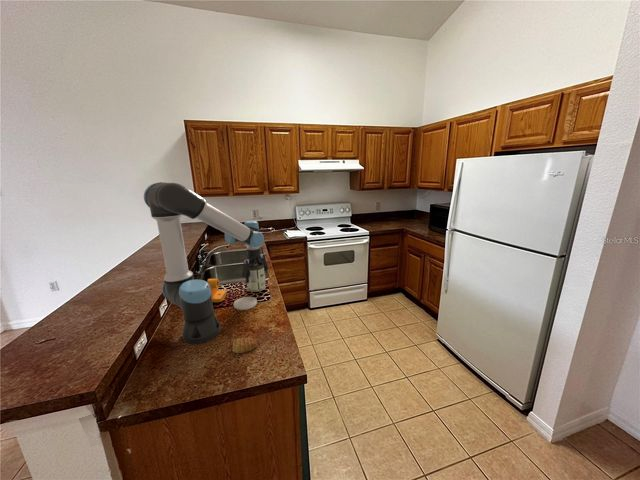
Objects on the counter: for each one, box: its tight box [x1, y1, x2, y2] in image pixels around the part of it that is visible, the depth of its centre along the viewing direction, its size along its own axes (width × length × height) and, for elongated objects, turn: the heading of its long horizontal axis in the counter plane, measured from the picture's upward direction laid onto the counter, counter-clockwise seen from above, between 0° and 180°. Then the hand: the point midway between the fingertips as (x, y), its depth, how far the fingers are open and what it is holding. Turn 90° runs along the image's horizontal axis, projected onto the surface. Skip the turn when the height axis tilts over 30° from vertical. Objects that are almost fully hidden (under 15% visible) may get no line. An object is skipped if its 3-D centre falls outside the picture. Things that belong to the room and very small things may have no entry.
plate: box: [233, 296, 258, 311], centre depth 137 cm, size 12×12×1 cm
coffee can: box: [247, 262, 267, 293], centre depth 151 cm, size 10×10×14 cm
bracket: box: [206, 278, 228, 303], centre depth 143 cm, size 11×7×12 cm, turn 2°
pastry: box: [232, 337, 258, 354], centre depth 104 cm, size 9×7×4 cm
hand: (256, 284), depth 152 cm, fingers closed on coffee can, 10 cm apart
